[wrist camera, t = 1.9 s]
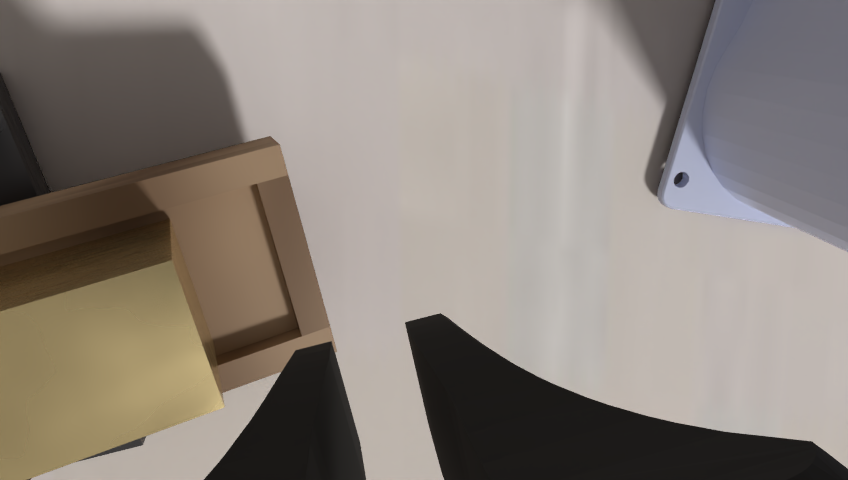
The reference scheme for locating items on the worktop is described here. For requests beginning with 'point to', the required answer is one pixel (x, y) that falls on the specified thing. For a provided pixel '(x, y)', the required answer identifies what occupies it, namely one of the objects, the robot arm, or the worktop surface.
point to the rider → (100, 349)
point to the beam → (203, 246)
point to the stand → (24, 180)
